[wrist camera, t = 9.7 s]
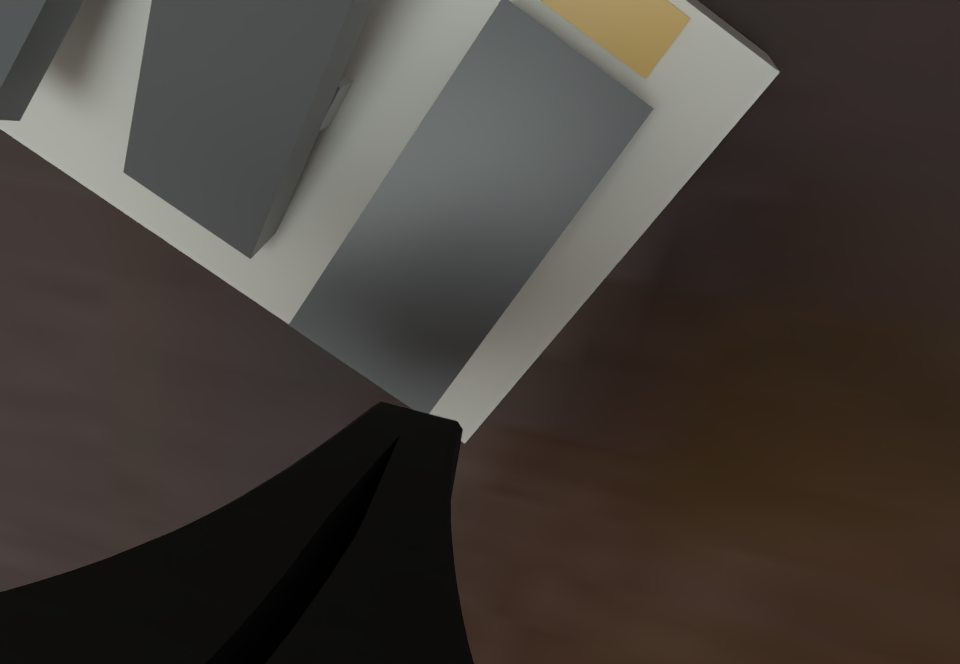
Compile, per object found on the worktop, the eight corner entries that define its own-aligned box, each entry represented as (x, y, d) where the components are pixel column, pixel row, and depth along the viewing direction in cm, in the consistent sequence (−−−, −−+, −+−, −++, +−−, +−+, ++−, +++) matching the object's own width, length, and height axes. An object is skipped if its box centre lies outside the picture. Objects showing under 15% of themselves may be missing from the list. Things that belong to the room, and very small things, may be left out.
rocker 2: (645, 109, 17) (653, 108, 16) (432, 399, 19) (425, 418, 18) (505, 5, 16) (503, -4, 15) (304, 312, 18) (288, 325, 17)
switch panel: (767, 54, 18) (784, 79, 15) (483, 396, 24) (458, 460, 21) (83, -471, 16) (-41, -553, 14) (-42, 35, 22) (-147, 53, 19)
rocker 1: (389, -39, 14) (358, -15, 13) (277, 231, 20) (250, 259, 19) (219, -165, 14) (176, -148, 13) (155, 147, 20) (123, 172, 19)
